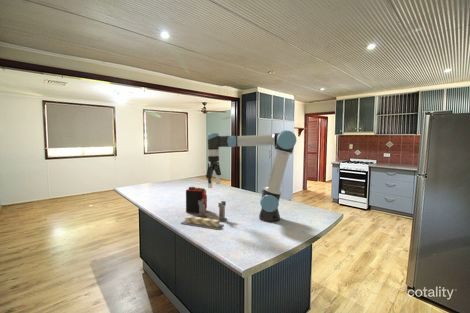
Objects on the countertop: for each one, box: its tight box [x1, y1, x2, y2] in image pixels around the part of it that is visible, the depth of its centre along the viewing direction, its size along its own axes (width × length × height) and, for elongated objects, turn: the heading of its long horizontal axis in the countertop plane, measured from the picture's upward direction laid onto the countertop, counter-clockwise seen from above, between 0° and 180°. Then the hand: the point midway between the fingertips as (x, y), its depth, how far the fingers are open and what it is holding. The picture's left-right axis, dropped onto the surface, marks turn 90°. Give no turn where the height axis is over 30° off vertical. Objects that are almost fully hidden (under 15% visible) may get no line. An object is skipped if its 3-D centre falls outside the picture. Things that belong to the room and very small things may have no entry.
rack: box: [197, 199, 228, 223], centre depth 165 cm, size 21×6×13 cm, turn 70°
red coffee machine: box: [185, 186, 208, 214], centre depth 181 cm, size 16×10×20 cm, turn 74°
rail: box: [184, 215, 220, 227], centre depth 153 cm, size 24×4×4 cm, turn 70°
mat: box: [180, 220, 224, 231], centre depth 153 cm, size 28×8×1 cm, turn 70°
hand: (214, 186), depth 159 cm, fingers open, 13 cm apart
